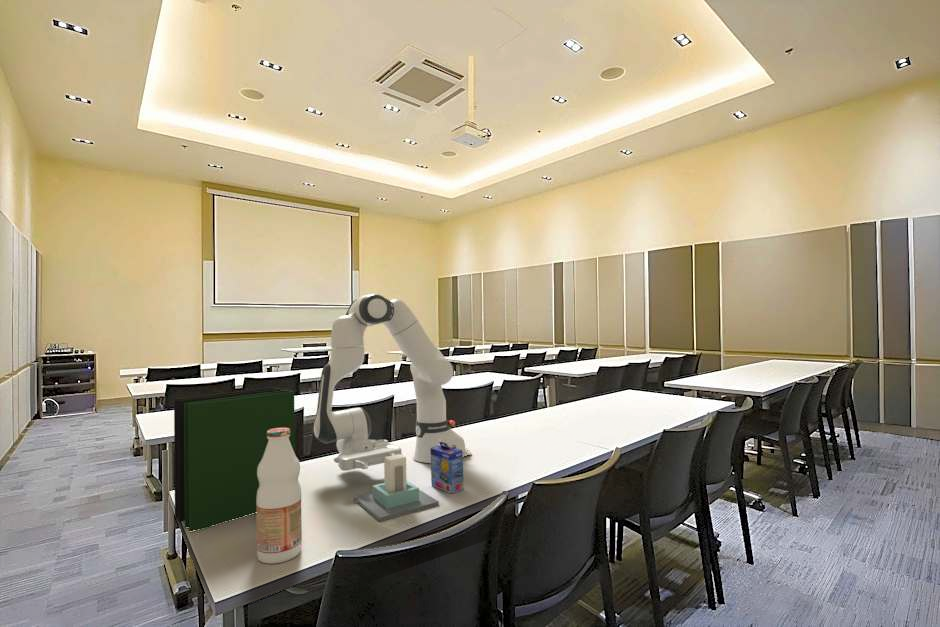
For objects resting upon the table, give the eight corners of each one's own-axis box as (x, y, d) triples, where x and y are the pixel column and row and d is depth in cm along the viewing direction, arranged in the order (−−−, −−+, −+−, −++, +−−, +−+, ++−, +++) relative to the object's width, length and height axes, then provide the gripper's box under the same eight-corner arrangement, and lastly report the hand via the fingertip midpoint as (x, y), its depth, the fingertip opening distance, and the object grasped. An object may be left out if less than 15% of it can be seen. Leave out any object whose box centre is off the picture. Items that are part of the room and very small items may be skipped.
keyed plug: (400, 494, 136) (399, 454, 136) (408, 500, 132) (407, 458, 132) (384, 498, 133) (384, 457, 133) (392, 504, 129) (391, 461, 129)
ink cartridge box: (430, 486, 145) (429, 440, 146) (443, 481, 149) (442, 436, 149) (451, 494, 138) (450, 446, 139) (464, 489, 142) (463, 442, 142)
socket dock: (409, 486, 145) (409, 472, 145) (438, 505, 130) (438, 489, 131) (354, 500, 135) (353, 484, 135) (379, 521, 120) (379, 504, 120)
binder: (190, 533, 115) (189, 405, 115) (173, 517, 125) (172, 398, 126) (295, 501, 135) (294, 391, 135) (273, 489, 145) (272, 387, 145)
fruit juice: (260, 569, 98) (258, 437, 98) (254, 551, 106) (253, 428, 106) (306, 556, 103) (304, 431, 103) (297, 540, 111) (295, 423, 111)
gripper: (331, 448, 147) (347, 459, 136) (390, 438, 159) (409, 447, 148) (331, 468, 147) (347, 480, 136) (390, 457, 159) (409, 467, 148)
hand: (380, 463), depth 142 cm, fingers open, 8 cm apart
